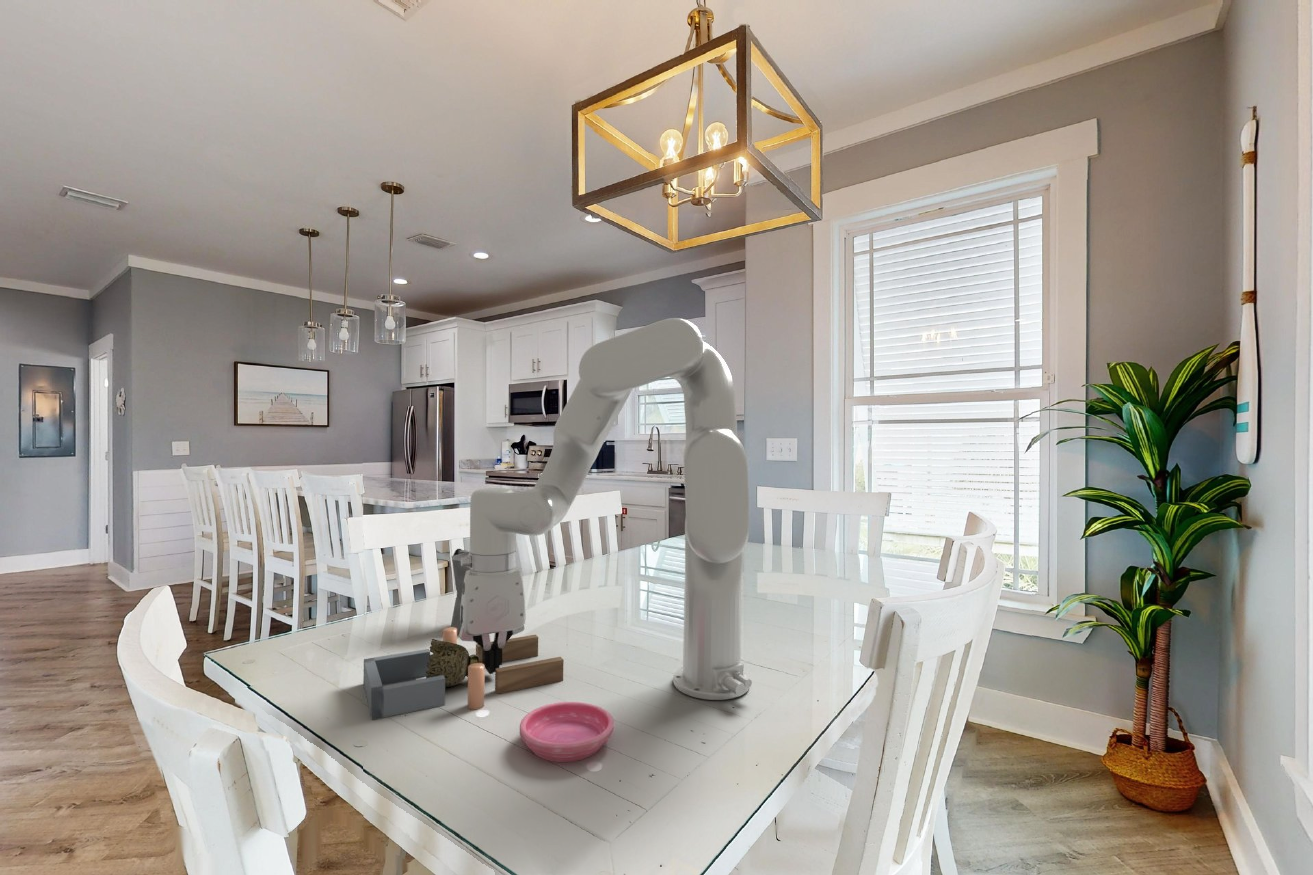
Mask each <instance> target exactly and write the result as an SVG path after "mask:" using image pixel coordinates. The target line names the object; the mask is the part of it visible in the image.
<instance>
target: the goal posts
mask: <svg viewBox="0 0 1313 875" xmlns="http://www.w3.org/2000/svg"><path fill="white" fill-rule="evenodd" d="M442 641H445V642H450V643H455V644H458V634H457V628H455V627H451V626H449V627H444V628H443V629H442ZM485 672H486V668H485V665H484V664H482V663H474V664H471V665H469V666H468V677H467V709H468V710H480V709H482V708H484V706H485V682H486V681H485V677H486V676H485V675H486V674H485Z"/></svg>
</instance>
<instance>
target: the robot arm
mask: <svg viewBox="0 0 1313 875" xmlns="http://www.w3.org/2000/svg"><path fill="white" fill-rule="evenodd" d="M578 375H579V380H578V381H577V383H576V386H575V387H574V389H573V391H572V393H571V395H570V397H569V399H568V400H567V401H566V404H565V406H564V408H563V409H562V411H561V413H560V415H559V417H558V419H557V421H556V422H555V424H554V430H553V445H552V450H551V452H550V455H549V458H548V460H547V463H546V464H545V467H544V469H543V471H541V474H540V476H539V478H538V480H537V481H536V483H535V485H534V487H533V488H530V489H527V490H523V491H513V490H512V489H510V488H504V487H503V488H502V487H500V488H499V487H490V488H489V487H488V488H479V489H477V490H474V491H473V492H472V494H471V496H470V502H469V503H470V504H469V511H470V513H469V551H470V552H469V551H468V552H469V555H468V557H466V558H461V566H466V567H469V568H470V570H468V571H466V574H465V578H464V583H463V590H462V598H461V609H460V624H461V630H460V634H458V636H459V639H460V640H461V641H462V642H475V643H476V644H478V645H480V646H481V647H482V664H484V665H485V671H487V673H488V674H489V675H493V674H495V669H496V668H500V666H502V665H503V662H502V648H503V647H504V646H505V643H506V642H507V641H508V640H509V639H511V638H512V636H513V635H518V634H519V633H522V632H523V631H525V625H526V620H527V619H526V618H527V617H526V616H527V614H526V613H527V612H526V610H527V609H526V598H525V597H526V596H525V586H524V580H523V573H522V569H521V568H520V567H518V566H517V534H518V535H524V536H531V537H532V536H533V537H535V536H541V535H543V534H546V533H547V532H549V531H551V530H552V529H553V528H554V527H556V525H558V524H559V523H561V522H562V521H563V520H564V518H565V517H566V515H567V514H568V511H569V510H570V509H571V507H572V505H573V502H574V500H576V498H577V495H578V494H579V491H581V488H582V486H583V485H584V482H585V480H586V478H587V476H588V474H589V472H590V470H591V468H592V466H593V464H594V463H595V461H596V459H597V457H598V456H599V452H600V451H601V449H602V446H603V445H604V443H605V441H606V439H607V437H608V435H609V434H610V431H611V429H612V428H613V426H614V424H615V422H616V420H617V418H618V417H619V415H620V413H621V411H622V409H623V408H624V406H625V404H626V402H627V400H628V399H629V396H630V395H631V393H632V390H633V389H636V388H640V387H642V386H645V385H648V384H652V383H654V382H657V381H659V380H662V379H665V378H668V377H669V378H671V379H674V380H675V381H676V382H677V383H678V384H679V386H680V388H681V389H682V394H683V403H684V405H683V406H684V418H685V419H684V420H685V421H684V422H685V448H684V452H683V470H684V473H683V474H684V499H685V503H684V504H685V518H684V519H685V520H684V541H685V542H684V593H683V599H684V600H683V643H682V644H683V645H682V646H683V649H682V652H683V653H682V654H683V655H682V656H683V658H682V667H680V668H679V669H677V670H676V671H675V672H674V673H673V680H672V681H673V682H672V683H673V685H674V686H675V688H676V689H677V690H678V691H679V692H681V693H683V694H684V695H687V696H689V697H693V698H697V699H701V700H709V701H724V700H725V701H726V700H732V699H735V698H739V697H741V696H742V695H744V694H746V693H747V692H748V691H749V690H750V687H751V686H752V683H753V682H752V680H751V679H750V678H749V675H747V674H746V673H745V672H744V663H742V662H741V661H742V660H741V656H742V655H741V654H742V651H741V650H742V613H743V612H742V609H743V608H742V607H743V605H742V604H743V551H744V549H745V548H746V545H747V543H748V541H749V536H750V497H749V496H750V495H749V494H750V493H749V470H748V467H749V466H748V458H747V454H746V450H745V447H744V446H743V443H742V441H740V439H739V438H738V421H737V420H738V418H737V417H738V416H737V407H736V392H735V385H734V381H733V376H732V374H731V371H730V369H729V367H728V364H727V363H726V362H725V360H724V359H723V357H722V356H721V355H720V354H719V353H718V351H717V350H716V349H714V348H713V347H712V346H710V344H708V343H706V342H704V340H703V336H702V333H701V332H700V330H699V328H698V326H696V325H695V324H694V323H693V322H691V321H689V320H687V319H684V318H680V317H672V318H671V317H670V318H665V319H662V320H659V321H656V322H654V323H651V324H648V325H644V326H641V327H639V328H637V329H633V330H632V331H628V332H626V333H622V334H620V335H616V336H614V337H611V338H609V339H606V340H603V341H600V342H598V343H596V344H594V345H592V346H591V347H589V348H588V349H587V350H586V351H585V352H584V354H583V355H582V357H581V358H580V361H579V365H578ZM490 634H494V636H493V641H491V638H490V637H491V636H490ZM491 642H493V644H492V645H491Z"/></svg>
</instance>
